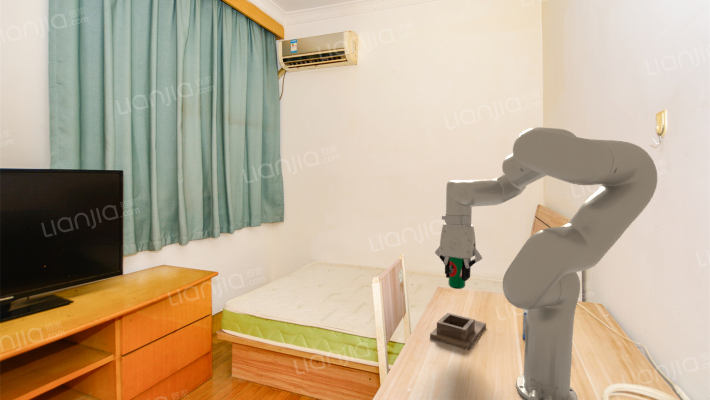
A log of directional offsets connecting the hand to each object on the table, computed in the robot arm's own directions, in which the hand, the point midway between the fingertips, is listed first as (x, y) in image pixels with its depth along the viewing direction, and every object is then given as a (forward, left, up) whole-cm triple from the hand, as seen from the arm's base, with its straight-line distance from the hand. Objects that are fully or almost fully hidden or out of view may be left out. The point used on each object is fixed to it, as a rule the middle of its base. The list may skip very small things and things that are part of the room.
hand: (457, 277), depth 107 cm
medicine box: (+13, -21, -19) cm, 31 cm away
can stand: (+3, 0, -19) cm, 19 cm away
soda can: (0, 0, -3) cm, 3 cm away
